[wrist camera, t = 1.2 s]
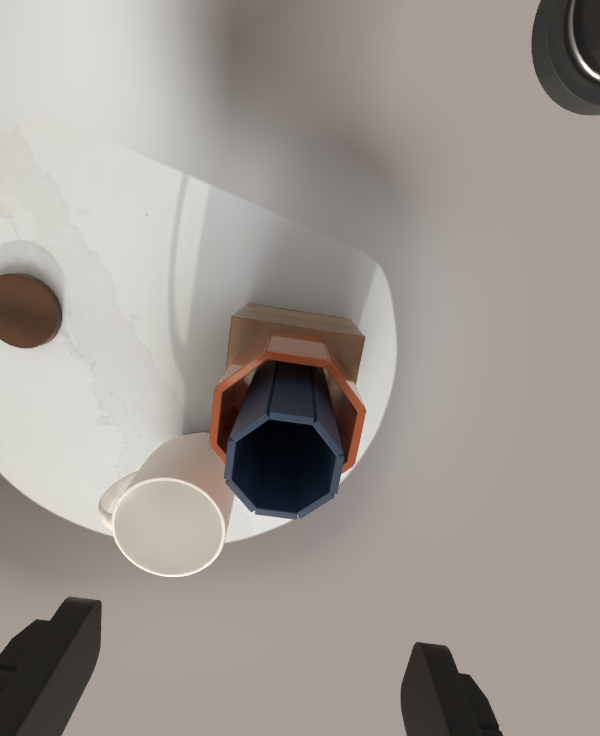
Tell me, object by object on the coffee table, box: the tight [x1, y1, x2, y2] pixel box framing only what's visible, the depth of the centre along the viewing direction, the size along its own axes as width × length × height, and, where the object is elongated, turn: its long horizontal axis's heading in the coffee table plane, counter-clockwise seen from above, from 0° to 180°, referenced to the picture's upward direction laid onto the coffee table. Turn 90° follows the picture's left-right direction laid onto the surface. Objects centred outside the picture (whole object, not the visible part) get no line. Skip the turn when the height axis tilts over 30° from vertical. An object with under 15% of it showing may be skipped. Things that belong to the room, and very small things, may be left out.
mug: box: [98, 432, 235, 577], centre depth 35 cm, size 12×9×12 cm
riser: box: [226, 304, 365, 385], centre depth 34 cm, size 10×10×9 cm
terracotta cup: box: [209, 330, 366, 474], centre depth 26 cm, size 9×9×7 cm
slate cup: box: [224, 360, 344, 520], centre depth 24 cm, size 6×6×11 cm
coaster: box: [0, 274, 62, 348], centre depth 37 cm, size 7×7×1 cm
